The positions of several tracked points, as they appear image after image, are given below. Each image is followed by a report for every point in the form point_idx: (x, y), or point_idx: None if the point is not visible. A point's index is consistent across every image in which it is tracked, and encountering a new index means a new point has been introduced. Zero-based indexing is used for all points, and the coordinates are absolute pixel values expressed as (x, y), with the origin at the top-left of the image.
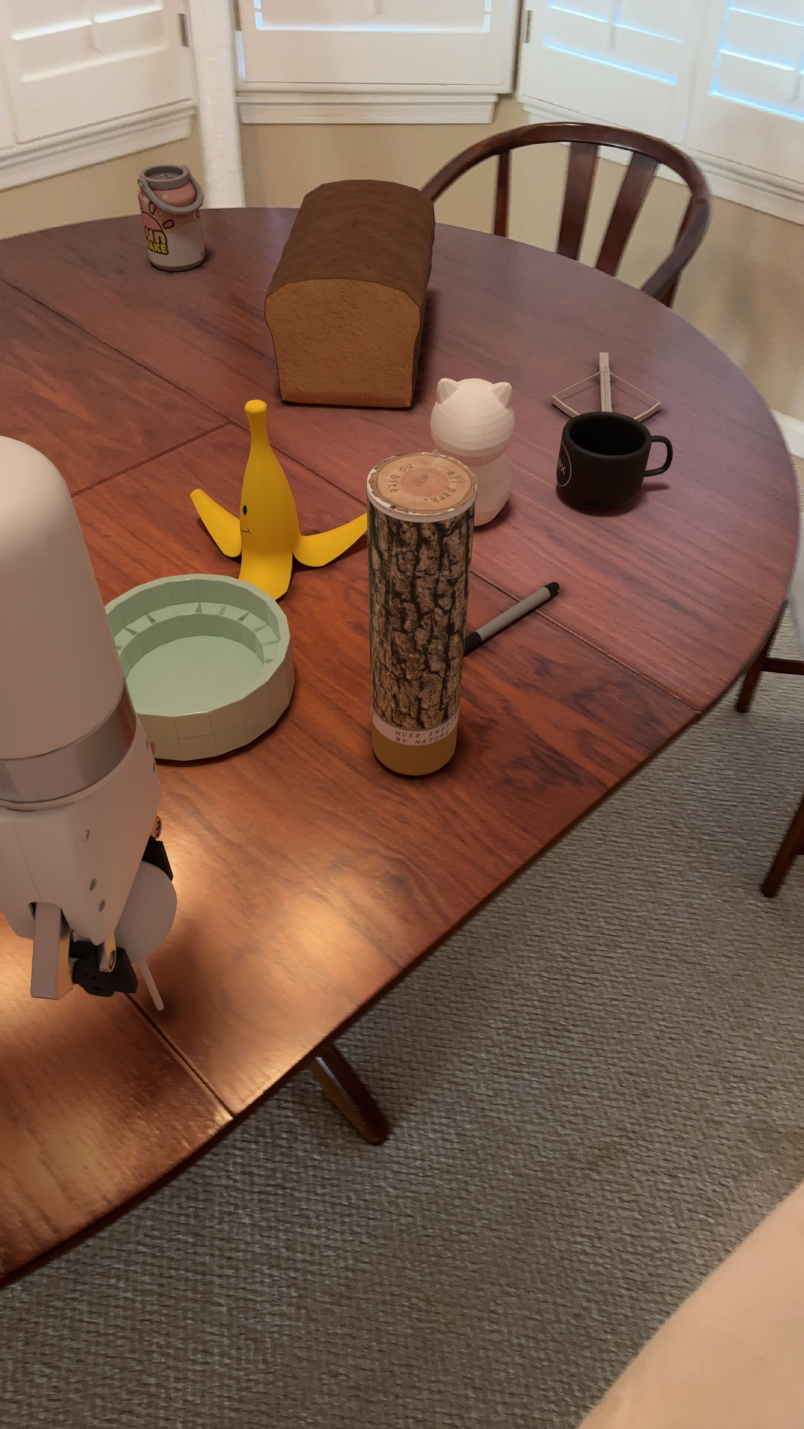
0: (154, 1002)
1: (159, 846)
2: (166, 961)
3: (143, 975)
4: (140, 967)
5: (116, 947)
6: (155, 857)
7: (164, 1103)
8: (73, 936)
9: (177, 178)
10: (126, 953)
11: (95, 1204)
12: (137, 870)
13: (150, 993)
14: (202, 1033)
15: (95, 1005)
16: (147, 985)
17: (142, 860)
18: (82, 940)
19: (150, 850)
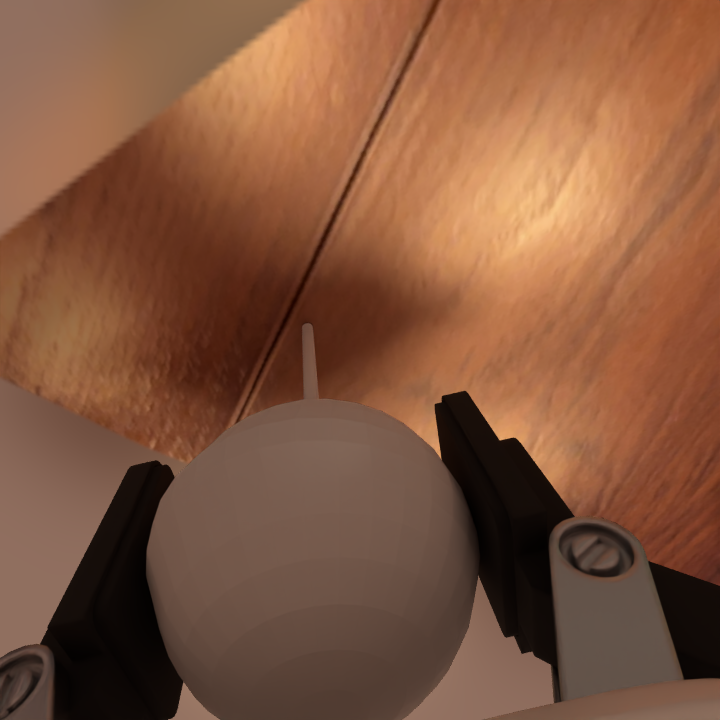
0: (302, 336)
1: (528, 650)
2: (380, 299)
3: (304, 377)
4: (304, 394)
5: (163, 714)
6: (495, 610)
7: (184, 398)
8: (156, 556)
9: None
10: (179, 693)
11: (23, 382)
12: (415, 707)
13: (303, 345)
14: (293, 398)
15: (273, 228)
16: (303, 360)
17: (483, 558)
18: (153, 592)
19: (510, 627)
